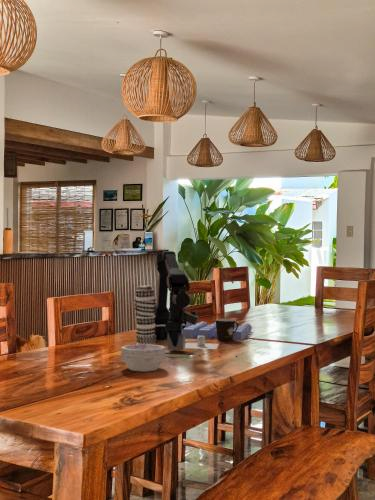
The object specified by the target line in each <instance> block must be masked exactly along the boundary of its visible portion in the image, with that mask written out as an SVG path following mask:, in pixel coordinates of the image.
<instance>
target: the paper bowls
mask: <svg viewBox="0 0 375 500" xmlns="http://www.w3.org/2000/svg"><path fill="white" fill-rule="evenodd" d="M120 349H121V350H120V362H122V363H125V364H126V367H127V369H128V370H130V371H132V372H139V373H140V372H141V373H142V372H143V373H145V372H146V373H147V372H153V371H156V370H158V369H159V367H160V365H161V363H164V362H165V361H166V357H165V353H166V347H165V346H164V345H159V344H153V345H151V344H137V343H136V344H127V345H123V346H121V348H120Z"/></svg>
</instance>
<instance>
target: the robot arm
mask: <svg viewBox="0 0 375 500" xmlns="http://www.w3.org/2000/svg"><path fill="white" fill-rule="evenodd" d="M153 260H154V267H155V269H156V271H157V272H158V277H157V280H158V281H157V290H156V304H155V305H154V307H155V308H156V309H155V311H156V313H154V315H155V318H154V319H155V327H156V330H155V331H156V333H155V335H156V342H158V341H165V340H166V341H168V334H169V336H170V338H171V341H172V343H173V346H174V347H176V346H177V341H178V336H179V333H181V332H182V330H183V329H184V328H185V327H186V326H185V325H187V322H189V323H191V324H192V325H195V324H197V323H198V320H199V316H198V314H197V313H198V312H196V311H194V310H193V311H190V312H188V311H186V308H187V307H188V306H189V305H190V303H191V298H190V296H189V294H188V293H186V292H190V289H191V286H190V281H189V278H188V275H186V273H185V271H184V270H182V269H181V268H180V267H179V263H178V261H177V255H176V252H175V251H172V250H170V251H167V250H165V251H162V252H160V253H157V254H156V255H154V259H153ZM168 292H169V307H168V306H167V305H168ZM183 324H185V325H183Z"/></svg>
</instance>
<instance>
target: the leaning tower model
mask: <svg viewBox="0 0 375 500" xmlns="http://www.w3.org/2000/svg"><path fill="white" fill-rule="evenodd" d="M154 290H155V288H153V285H145V284H144V285H138V286H137V288H136V289H135V299H133V300H134V302H135V303H134V306H135V307H134V310H135V318H136V329H135V331H136V334H137V335H136V345H137V344H151V345H155V344H156V335H155V333H156V331H155V330H156V327H155V319H154V318H155V315H154V313H156V311H155V309H156V308H155V306H156V304H157V298H155V293H154V292H155V291H154Z"/></svg>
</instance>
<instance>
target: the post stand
mask: <svg viewBox="0 0 375 500" xmlns="http://www.w3.org/2000/svg"><path fill="white" fill-rule="evenodd" d="M196 338H197V339H196V342H185V348H184V349H191V350H192V349H198V350H218V347H219V346H220V343H210V342H209V343H206V339H205V336H197V337H196Z"/></svg>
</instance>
